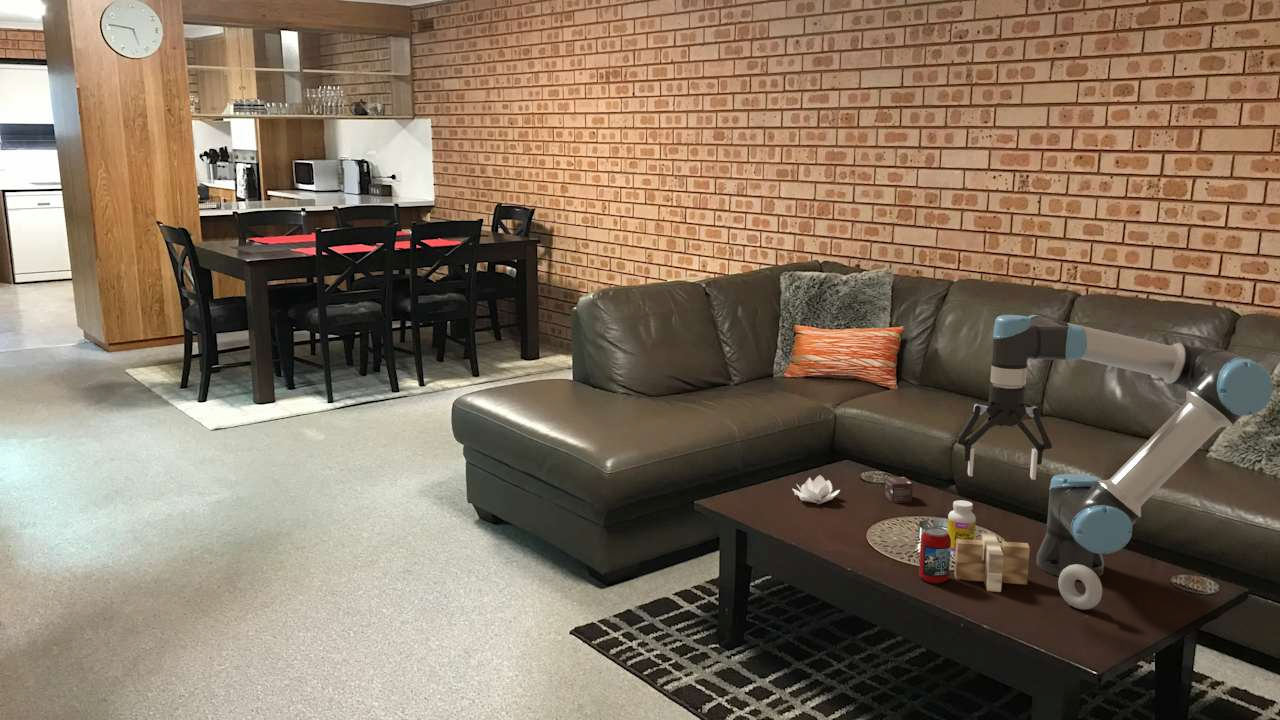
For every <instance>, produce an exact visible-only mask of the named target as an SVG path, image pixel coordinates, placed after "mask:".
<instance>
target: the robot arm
mask: <svg viewBox="0 0 1280 720" xmlns="http://www.w3.org/2000/svg"><path fill="white" fill-rule="evenodd" d="M992 333H993V334H992V357H991V366H990V367H991V368H990V378H989V379H990V383H991V384H990V385H989V395H988V403H987V405H981V404H979V403H974V404H973V408H972V412H971V414H970V415H969V417H968V419H967V421H966V422H965V424H964V426H963V427H962V429H961V431H960V432H959V434H958V436H957V437H956V442H957V444H958V445H961V446H962V447H964V448H963V449H964V450H963V459H964V461H965V462H968V464H967V475H968V477H973V474H974V473H973V472H974V463H975V462H974V461H975V459H974V458H975V447H974V445H975V443H977V441H978V440H979V439H981V438H982V436H984V434H986V432H988V431H989V430H990V428H991V429H992V427H994V425H996V426H998V427H1004V426H1007V427H1014V426H1016V425H1017V426H1018V428H1019V429H1020V430H1021V431H1022V432H1023V433H1024V435H1025V436H1026V437H1027V439H1028V440H1029V441H1030V442H1031V443H1032V444H1033V446H1034V448H1031V454H1030V455H1031V457H1030V468H1029V469H1030V470H1029V471H1030V472H1029V477H1030V479H1031V480H1032V481H1033V480H1034V481H1035V480H1036V477H1037V466H1038V465H1039V466H1041V464H1042V463H1043V452H1044V451H1045V450H1050V449H1052V447H1053V445H1052V443H1051V441H1050V439H1049V436H1048V434H1047V431H1046V429H1045V428H1044V425H1043V422H1042V421H1041V418H1040V410H1039V408H1038V407H1037V406H1036V405H1033V406H1031V407H1025V398H1026V387H1025V385H1026V384H1027V371H1028V360H1058V361H1059V360H1060V361H1065V362H1066V361H1068V362H1069V361H1071V360H1072V361H1075V360H1083V361H1089V362H1093V363H1096V364H1097V363H1098V364H1102V365H1107V366H1110V367H1114V368H1119V369H1125V370H1128V371H1132V372H1137V373H1141V374H1145V375H1150V376H1153V377H1159V378H1162V380H1163V381H1164V383H1165V384H1171V385H1174V386H1178V387H1180V388H1183V389H1185V390H1186V391H1185V394H1186V395H1185V396H1186V397H1185V398H1186V400H1185V403H1183V404H1182V405H1181V406H1180V408H1178V409H1177V411H1175V412H1174V413H1173V415H1171V416H1170V417H1169V418H1168V419H1167V420H1166V421H1165V422H1164V423H1163V424H1162V425H1161V427H1160V428H1159V429H1158V430H1157V431H1156V432H1155V433H1153V435H1152V436H1150V437H1149V439H1148V440H1146V442H1145V443H1144V444H1143V445H1141V447H1140V448H1139V449H1138V450H1137V451H1136V452H1135V453H1134V454H1133V455H1132V456H1131V457H1130V458H1128V460H1127V461H1126V462H1125V463H1124V464H1123V465H1122V466H1121V467H1120V468H1119V469H1118V470H1117V471H1116V472H1115V473H1114V474H1113V475H1112V476H1111V477H1110V478H1109V479H1101V478H1100V477H1098V476H1093V475H1087V474H1077V473H1063V474H1061V473H1060V474H1055V475H1054V476H1052V478H1051V480H1050V484H1049V485H1050V486H1049V488H1048V490H1049V493H1048V494H1049V495H1048V496H1049V497H1048V507H1047V508H1048V509H1047V520H1046V521H1047V522H1046V533H1045V536H1044V538H1043V541H1041V542H1042V543H1041V544H1040V546H1039V549H1038V551H1037V553H1036V562H1035V563H1036V566H1037V568H1039V569H1040V570H1042V571H1043V572H1046V573H1048V574H1050V575H1053V576H1058V577H1059V576H1060V573H1061V572H1062V571H1063V569H1065V568H1066V567H1068V566H1069V565H1074V564H1079V565H1084V566H1086V567H1088V568H1090V569H1091V570H1092V571H1093V572H1094V573H1096V575H1097V576H1098V578H1100V577H1101V576H1103V575H1104V571H1105V570H1104V569H1105V562H1104V557H1103V555H1108V554H1113V553H1116V552H1118V551H1120V550H1122V549H1123V548H1124V547H1126V545H1127V544H1128V543H1129V542H1130V540H1131V538H1132V535H1133V525H1134V524H1135V523H1136V522H1137V521H1138V520H1139V519H1140V518H1141V517H1142V510H1141V509H1142V506H1143V505H1144V503H1145V502H1146V501H1148V500H1149V498H1150V497H1152V495H1154V494H1155V492H1157V491H1158V489H1160V488H1161V487H1162V485H1164V484H1165V482H1166V481H1168V480H1169V479H1170V478H1171V477H1172V475H1173V474H1174V473H1176V471H1178V470H1179V469H1180V467H1182V466H1183V465H1184V463H1186V462H1187V461H1188V460H1189V459H1190V458H1191V457H1192V456H1193V454H1195V453H1196V452H1197V451H1198V449H1200V447H1202V446H1203V445H1204V443H1206V442H1207V440H1209V439H1210V438H1211V437H1212V435H1214V434H1215V433H1216V432H1217V431H1218V430H1219V429H1220V428H1229V427H1231V428H1232V427H1233V426H1234V425H1235V423H1237V422H1238V421H1239V420H1240V419H1241V418H1242V417H1244V416H1247V417H1248V416H1252V415H1255V414H1258V413H1259V412H1261V411H1263V409H1265V408H1266V407H1267V406H1268V404H1269V402H1270V401H1271V398H1272V396H1273V392H1274V388H1273V380H1272V377H1271V374H1270V373H1269V371H1268V370H1267V369H1266V368H1265V367H1264V366H1263V365H1261V364H1259V363H1258V362H1256V361H1254V360H1253V359H1252V358H1249V357H1248V358H1247V357H1244V356H1241V355H1238V354H1237V353H1233V352H1231V351H1228V350H1225V349H1219V348H1214V347H1213V348H1212V347H1203V346H1196V345H1190V344H1184V343H1181V342H1176V343H1174V344H1172V345H1169V344H1164V343H1159V342H1156V341H1155V342H1154V341H1151V340H1146V339H1141V338H1138V337H1133V336H1128V335H1125V334H1120V333H1115V332H1110V331H1105V330H1102V329H1096V328H1094V327H1089V326H1084V325H1079V324H1075V323H1070V322H1064V321H1060V320H1057V319H1053V318H1049V317H1046V316H1044V315H1038V314H1032V315H1029V316H1026V315H1018V314H1001V315H999V316H997V317H996V318H995V321H994V326H993V332H992ZM984 412H986V413H987V415H989V416H988V417H987V418H986V419H985V420H984V422H983V423H982V424H981V425H979V426H978V427H977V428H976V429H975V430H974V432H972V434H970V432H971V431H972V429H973V427H974V426H975V424H976V422H977V421H978V419H979V417H980V416H981V415H983V414H984ZM1026 414H1028V415H1029V417H1030V418H1032V420H1033V422H1034V425H1035V426H1036V429H1037V431H1038V434H1039V436H1040V438H1041V440H1042V442H1041V443H1040V442H1039V440H1037V438H1036V436H1034V434H1033V433H1032V432H1031V430H1030V429H1029V428H1028V426H1026V425H1025V423H1024V421H1023V420H1022V419H1023V418H1024V416H1025V415H1026ZM969 434H970V435H969Z"/></svg>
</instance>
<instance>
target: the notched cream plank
mask: <svg viewBox="0 0 1280 720" xmlns="http://www.w3.org/2000/svg"><path fill="white" fill-rule="evenodd" d="M980 534H981V535H980V540H982V542H983V559H984V562H985V564H986V568H985V581H983V582H984V583H983V584H984V586H985V589H986V591H988V592H996V593H1001V592H1002V585H1003V583H1002V571H1003V558H1004V554H1003V552H1002V550H1001V549H1002V546H1001V545H1000V543H999V541H998V538H997V536H996V534H995V533H994V532H981V533H980Z"/></svg>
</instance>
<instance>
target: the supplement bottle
mask: <svg viewBox="0 0 1280 720" xmlns="http://www.w3.org/2000/svg"><path fill="white" fill-rule="evenodd" d="M973 505H974V504H973V503H972V502H971V501H968V500H961V499H960V500H955V501H953V503H952V508H953V510H950V512H949V513H948V515H947V527H946V530H947V531H948V534H949V536H950V538H951V549H950V553H951V552H953V553H952V554H954V553H955V555H956V541H957V539H969V540H975V536H976V535H975V533H976V523H977V518H976V514H974V513H973V512H972V511H973V507H974V506H973Z"/></svg>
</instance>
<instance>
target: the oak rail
mask: <svg viewBox="0 0 1280 720" xmlns="http://www.w3.org/2000/svg"><path fill="white" fill-rule="evenodd" d="M1030 549H1031V548H1030V545H1029V543H1028V542H1017V541H1015V542H1014V541H1002V542H1001V550H1002V552H1003V554H1004V558H1003V571H1002V584H1013V585H1014V584H1016V585H1028V576H1029V564H1030V563H1029V562H1030V552H1031V551H1030ZM954 558H955V559H954V578H955V580H960V579H961V580H962V581H974V582H985V568H986V564H985V562H984V559H983V542H982V540H981V539H974V540H969V539H957V541H956V554H955V557H954ZM961 580H960V581H961Z"/></svg>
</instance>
